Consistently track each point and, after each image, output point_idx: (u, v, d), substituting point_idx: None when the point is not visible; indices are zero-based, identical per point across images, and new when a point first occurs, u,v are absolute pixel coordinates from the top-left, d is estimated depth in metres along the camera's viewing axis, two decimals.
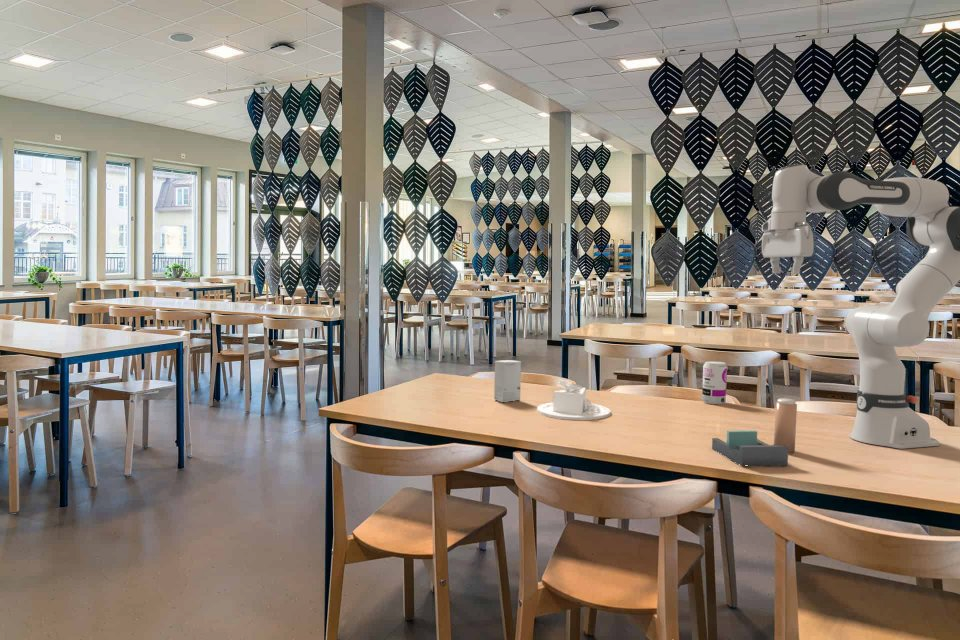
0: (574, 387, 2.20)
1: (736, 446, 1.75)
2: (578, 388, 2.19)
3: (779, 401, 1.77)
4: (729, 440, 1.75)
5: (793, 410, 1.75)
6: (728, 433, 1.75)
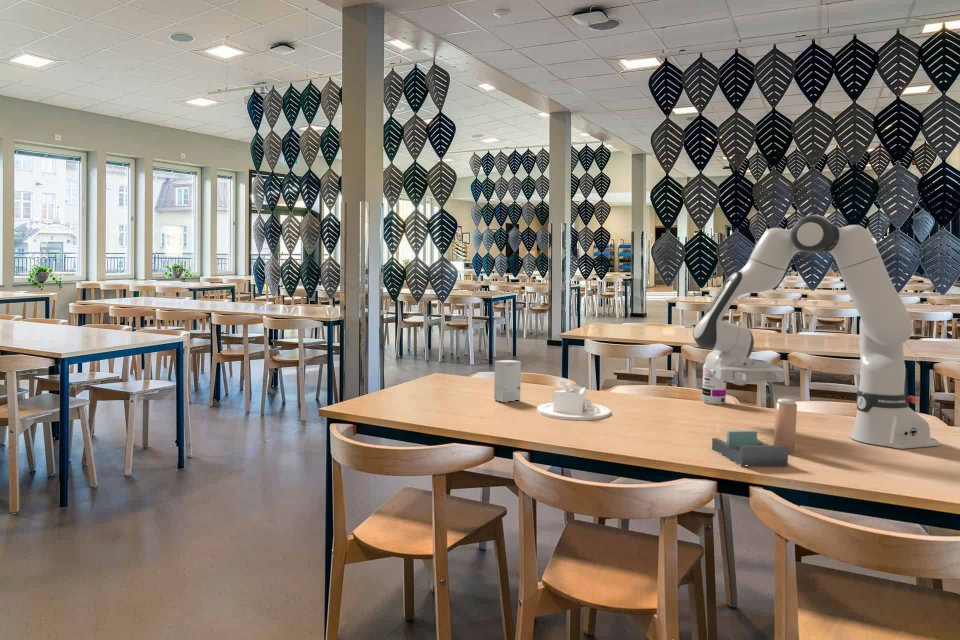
0: (574, 387, 2.20)
1: (736, 446, 1.75)
2: (578, 388, 2.19)
3: (779, 401, 1.77)
4: (729, 440, 1.75)
5: (793, 410, 1.75)
6: (728, 433, 1.75)
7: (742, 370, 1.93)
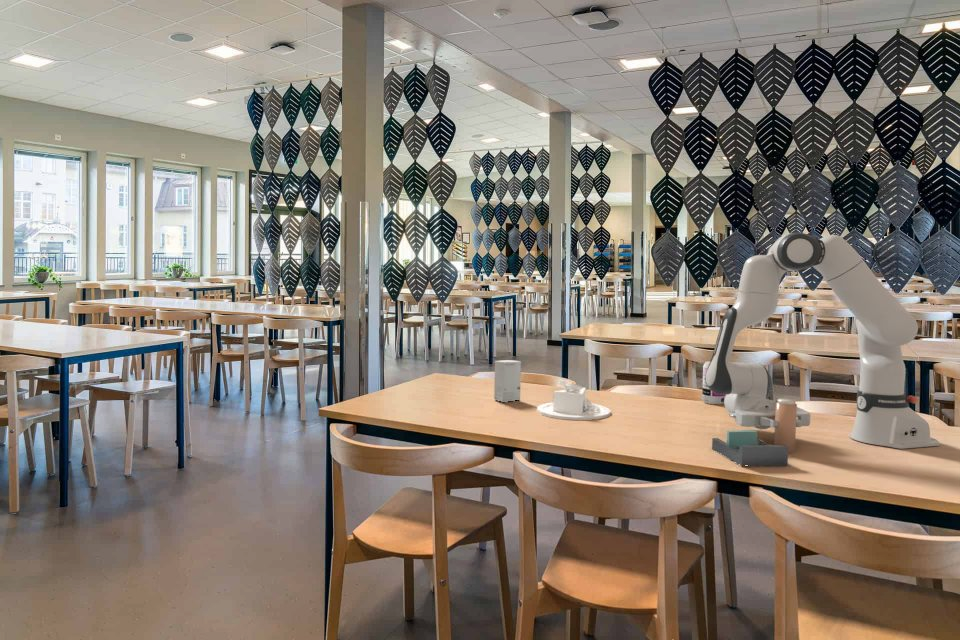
0: (574, 387, 2.20)
1: (736, 446, 1.75)
2: (578, 388, 2.19)
3: (779, 401, 1.77)
4: (729, 440, 1.75)
5: (793, 410, 1.75)
6: (728, 433, 1.75)
7: (764, 415, 1.81)
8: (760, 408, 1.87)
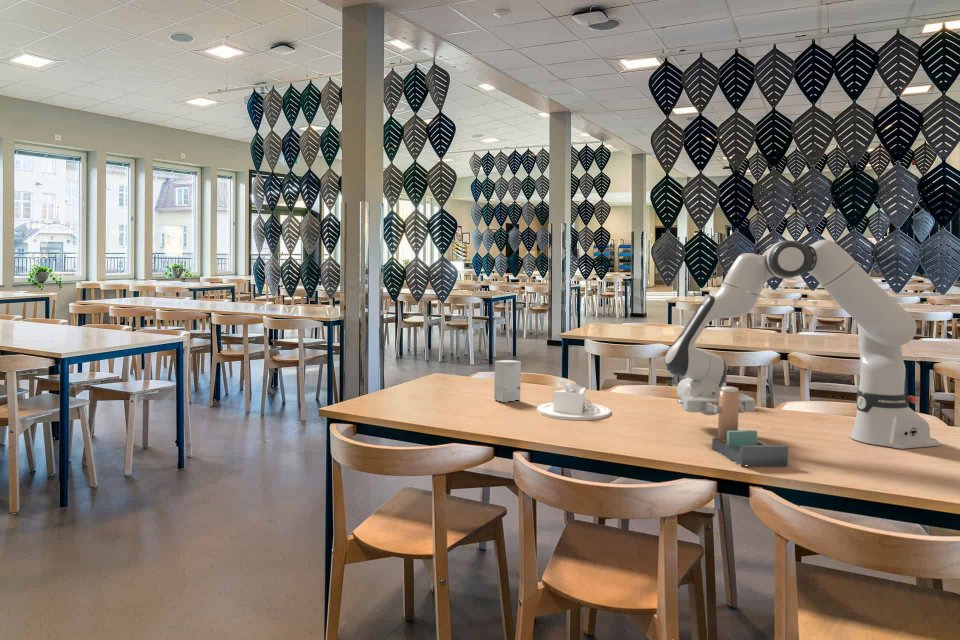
0: (574, 387, 2.20)
1: (736, 446, 1.75)
2: (578, 388, 2.19)
3: (722, 389, 1.82)
4: (729, 440, 1.75)
5: (735, 397, 1.80)
6: (728, 433, 1.75)
7: (709, 401, 1.86)
8: (707, 394, 1.92)
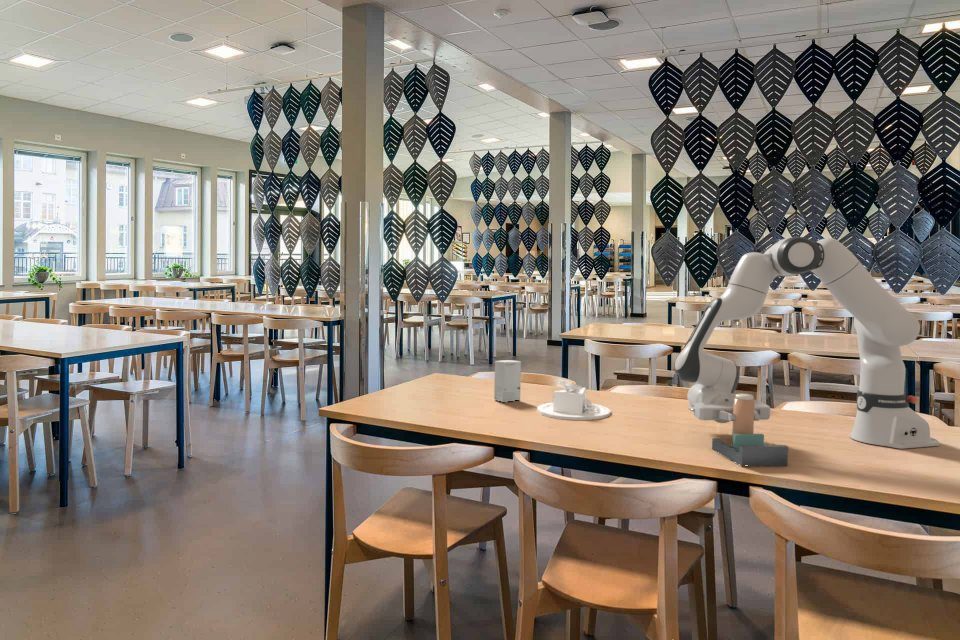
0: (574, 387, 2.20)
1: None
2: (578, 388, 2.19)
3: (737, 396, 1.74)
4: (735, 443, 1.71)
5: (750, 405, 1.72)
6: (734, 436, 1.71)
7: (723, 408, 1.78)
8: (720, 401, 1.84)
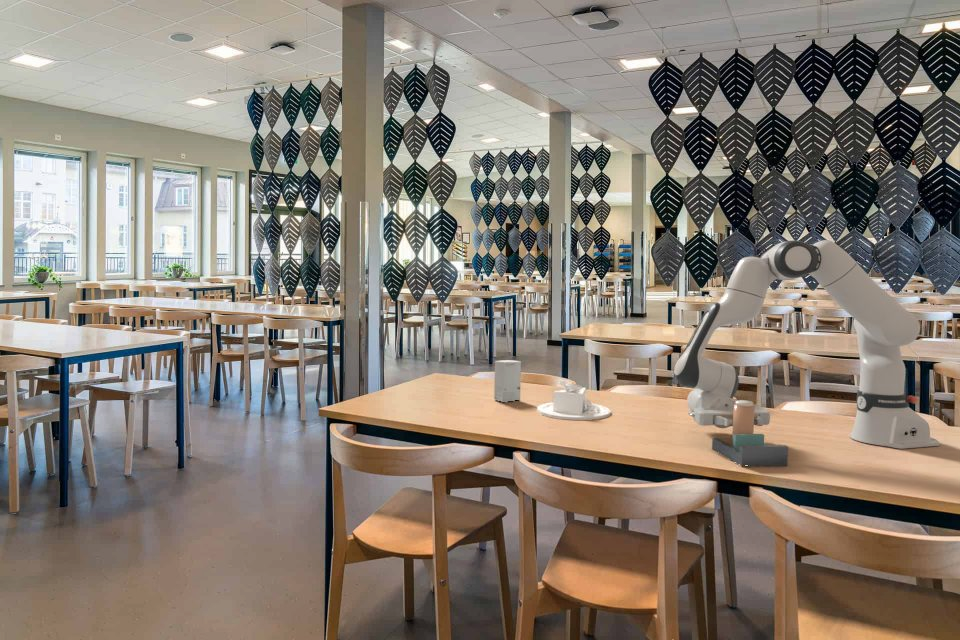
0: (574, 387, 2.19)
1: None
2: (578, 388, 2.19)
3: (737, 403, 1.74)
4: (736, 444, 1.71)
5: (750, 412, 1.72)
6: (734, 436, 1.71)
7: (722, 414, 1.78)
8: (720, 407, 1.84)
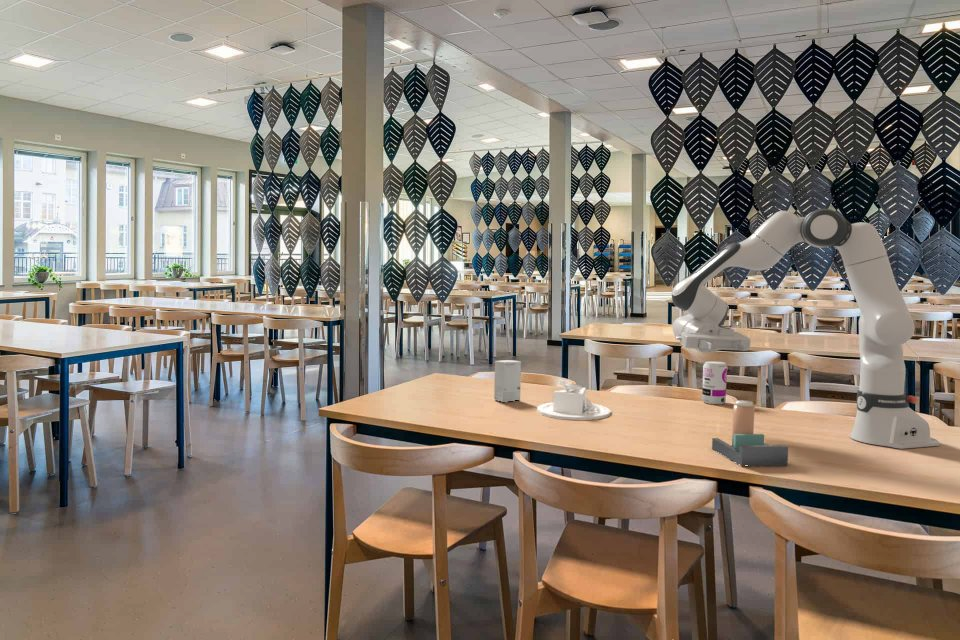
0: (574, 387, 2.19)
1: None
2: (578, 388, 2.19)
3: (736, 403, 1.74)
4: (736, 444, 1.71)
5: (750, 412, 1.72)
6: (734, 436, 1.71)
7: (708, 338, 1.91)
8: (705, 332, 1.97)
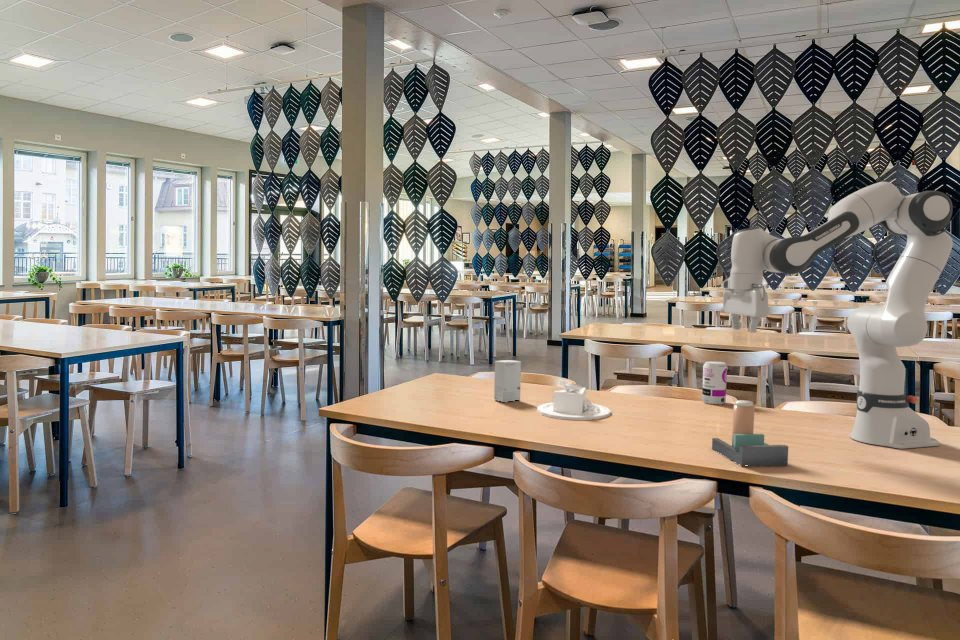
0: (574, 387, 2.19)
1: None
2: (578, 388, 2.19)
3: (736, 403, 1.74)
4: (736, 444, 1.71)
5: (750, 412, 1.72)
6: (734, 436, 1.71)
7: None
8: None
